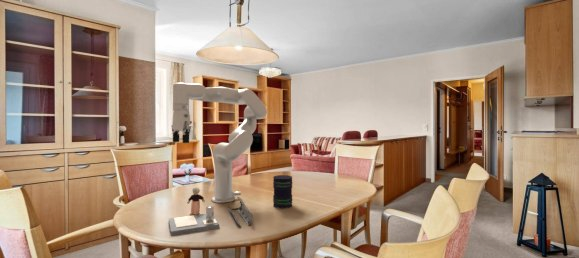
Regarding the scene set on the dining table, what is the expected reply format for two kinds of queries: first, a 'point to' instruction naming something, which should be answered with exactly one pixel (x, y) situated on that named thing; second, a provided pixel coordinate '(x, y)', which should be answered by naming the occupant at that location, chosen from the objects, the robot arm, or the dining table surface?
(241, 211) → the model building
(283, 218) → the dining table surface
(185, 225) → the board
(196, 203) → the grandmother figurine
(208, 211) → the pin
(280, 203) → the storage jar
